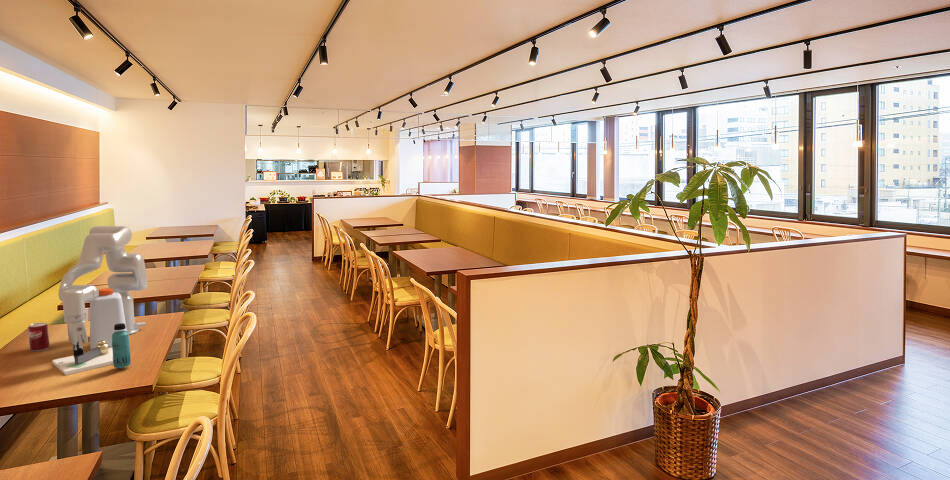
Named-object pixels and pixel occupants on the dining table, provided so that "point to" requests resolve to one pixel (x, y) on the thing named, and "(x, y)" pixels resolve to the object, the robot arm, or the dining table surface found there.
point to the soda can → (38, 336)
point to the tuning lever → (92, 352)
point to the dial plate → (83, 363)
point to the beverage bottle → (121, 347)
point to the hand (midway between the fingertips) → (78, 358)
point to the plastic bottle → (105, 316)
